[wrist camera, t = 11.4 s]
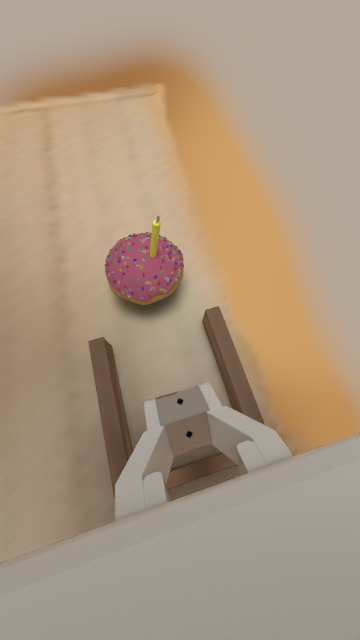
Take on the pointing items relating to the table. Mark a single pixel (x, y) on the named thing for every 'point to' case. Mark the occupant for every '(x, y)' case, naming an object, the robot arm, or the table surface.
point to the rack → (115, 414)
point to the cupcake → (144, 267)
